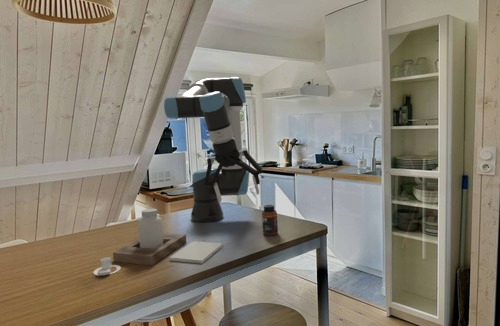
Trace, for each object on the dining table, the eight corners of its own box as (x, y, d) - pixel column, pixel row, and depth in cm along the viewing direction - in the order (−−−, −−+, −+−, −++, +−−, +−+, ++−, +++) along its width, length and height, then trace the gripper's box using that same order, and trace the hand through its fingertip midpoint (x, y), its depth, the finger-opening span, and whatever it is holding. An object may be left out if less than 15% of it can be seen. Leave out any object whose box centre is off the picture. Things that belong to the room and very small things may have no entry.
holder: (152, 239, 136) (152, 232, 136) (186, 242, 131) (185, 234, 131) (113, 261, 116) (112, 252, 115) (151, 265, 111) (150, 256, 110)
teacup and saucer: (106, 279, 103) (105, 266, 102) (85, 276, 105) (84, 264, 105) (126, 267, 111) (125, 255, 111) (106, 265, 114) (104, 253, 113)
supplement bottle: (278, 231, 139) (277, 203, 138) (277, 236, 133) (276, 207, 132) (263, 231, 140) (262, 204, 139) (262, 236, 134) (261, 207, 133)
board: (193, 243, 129) (193, 241, 129) (222, 246, 125) (222, 243, 125) (169, 260, 114) (169, 257, 114) (202, 263, 110) (202, 260, 110)
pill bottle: (168, 249, 125) (165, 208, 123) (151, 257, 118) (147, 214, 116) (153, 246, 129) (149, 206, 127) (135, 253, 122) (132, 211, 120)
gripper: (184, 151, 111) (203, 209, 118) (259, 134, 109) (274, 194, 116) (188, 144, 118) (206, 199, 125) (259, 128, 116) (273, 184, 123)
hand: (239, 196), depth 121 cm, fingers open, 13 cm apart
